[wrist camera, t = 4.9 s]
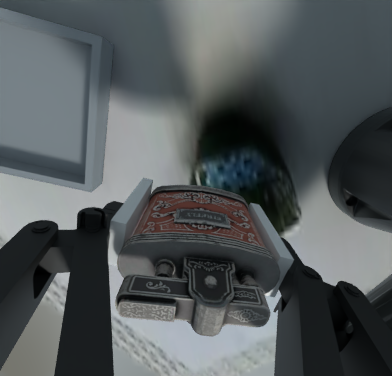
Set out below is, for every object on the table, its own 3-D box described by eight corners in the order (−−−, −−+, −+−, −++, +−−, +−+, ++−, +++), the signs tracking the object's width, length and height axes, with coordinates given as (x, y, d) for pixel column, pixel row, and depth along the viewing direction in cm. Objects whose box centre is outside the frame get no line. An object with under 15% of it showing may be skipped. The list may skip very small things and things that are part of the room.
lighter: (250, 191, 17) (318, 298, 7) (242, 227, 18) (290, 358, 9) (150, 179, 16) (88, 274, 7) (149, 217, 18) (94, 340, 8)
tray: (113, 45, 21) (101, 36, 19) (102, 183, 27) (91, 192, 24) (-51, -2, 20) (-91, -19, 17) (-27, 154, 25) (-54, 160, 23)
